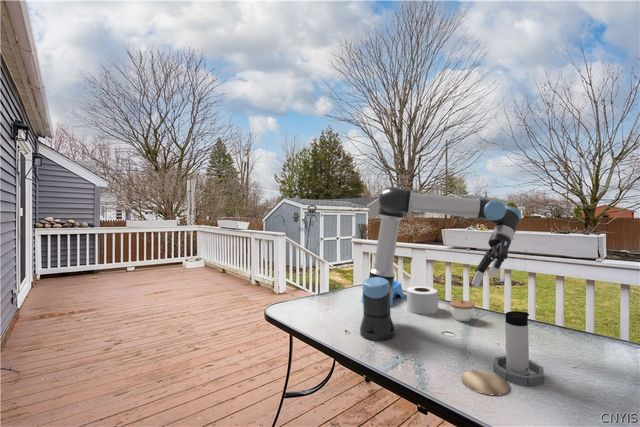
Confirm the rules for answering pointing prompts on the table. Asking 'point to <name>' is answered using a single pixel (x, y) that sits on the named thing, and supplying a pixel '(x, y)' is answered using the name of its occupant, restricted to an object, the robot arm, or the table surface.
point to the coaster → (485, 382)
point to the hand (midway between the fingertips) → (483, 280)
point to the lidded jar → (462, 310)
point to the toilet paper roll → (422, 300)
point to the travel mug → (517, 342)
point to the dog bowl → (394, 291)
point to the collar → (518, 378)
